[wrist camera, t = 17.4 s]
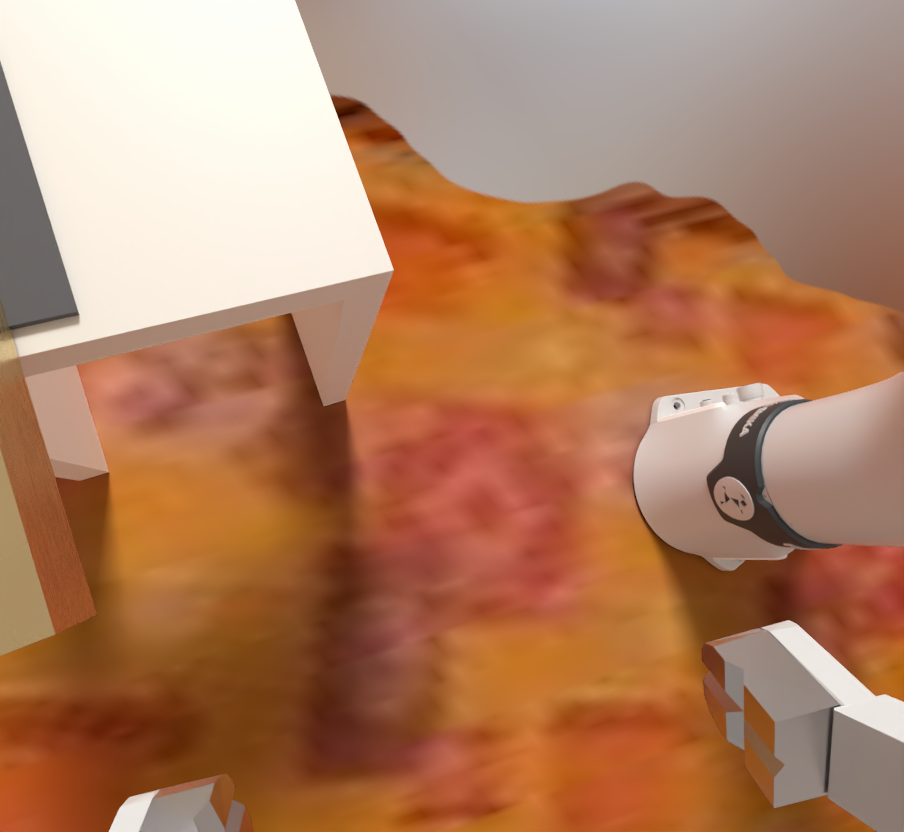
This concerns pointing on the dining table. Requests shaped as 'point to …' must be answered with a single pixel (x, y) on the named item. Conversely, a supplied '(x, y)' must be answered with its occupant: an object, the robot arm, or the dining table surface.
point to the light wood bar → (32, 522)
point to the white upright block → (172, 195)
